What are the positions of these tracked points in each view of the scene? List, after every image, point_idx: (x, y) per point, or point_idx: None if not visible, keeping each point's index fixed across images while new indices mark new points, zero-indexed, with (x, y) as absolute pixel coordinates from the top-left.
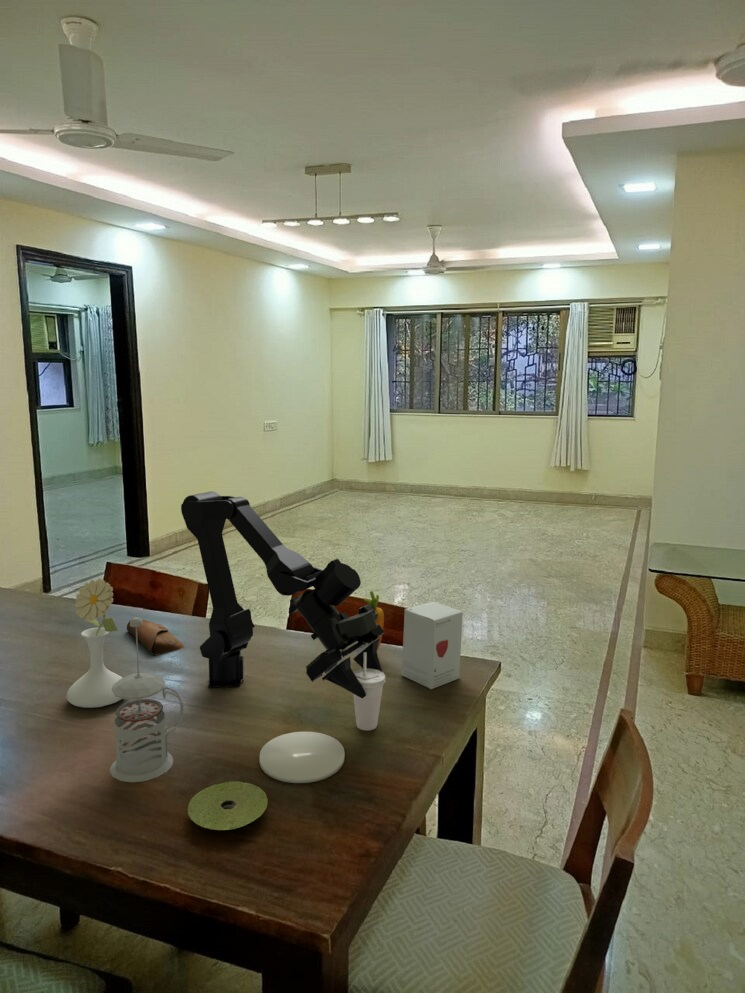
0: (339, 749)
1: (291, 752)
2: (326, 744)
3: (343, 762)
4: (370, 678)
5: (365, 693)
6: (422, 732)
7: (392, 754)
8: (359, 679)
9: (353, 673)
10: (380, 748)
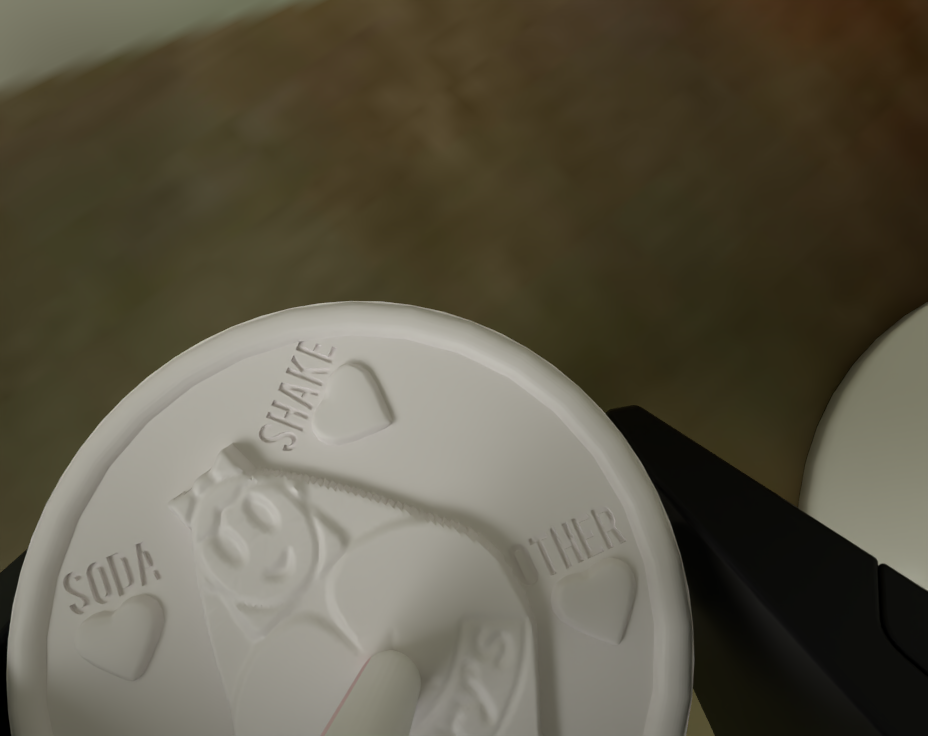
0: (893, 396)
1: None
2: (924, 520)
3: (916, 309)
4: (405, 507)
5: (623, 415)
6: (232, 187)
7: (593, 158)
8: (597, 629)
9: (880, 688)
10: (595, 258)
